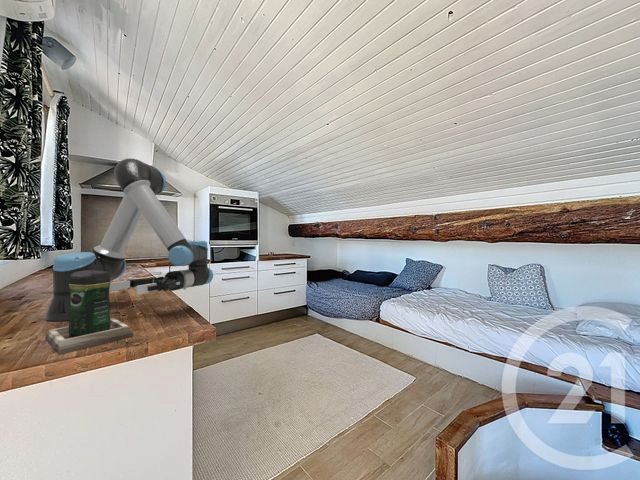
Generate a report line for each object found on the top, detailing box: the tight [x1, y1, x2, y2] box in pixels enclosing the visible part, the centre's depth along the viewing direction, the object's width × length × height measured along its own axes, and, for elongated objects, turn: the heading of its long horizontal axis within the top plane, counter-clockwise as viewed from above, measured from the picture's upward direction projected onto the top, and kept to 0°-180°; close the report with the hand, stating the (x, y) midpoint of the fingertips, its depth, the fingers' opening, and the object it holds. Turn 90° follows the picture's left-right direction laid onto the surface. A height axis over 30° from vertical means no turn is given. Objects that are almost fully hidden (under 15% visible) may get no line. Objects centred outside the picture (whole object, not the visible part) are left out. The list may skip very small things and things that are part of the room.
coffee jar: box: [68, 270, 112, 337], centre depth 80 cm, size 10×8×19 cm
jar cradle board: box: [45, 317, 134, 355], centre depth 80 cm, size 18×16×3 cm
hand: (122, 288), depth 88 cm, fingers open, 13 cm apart
